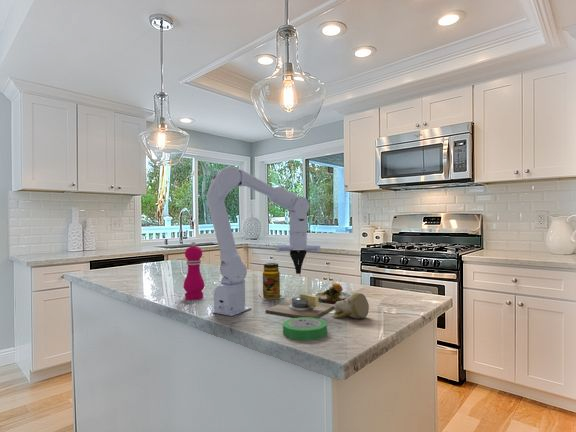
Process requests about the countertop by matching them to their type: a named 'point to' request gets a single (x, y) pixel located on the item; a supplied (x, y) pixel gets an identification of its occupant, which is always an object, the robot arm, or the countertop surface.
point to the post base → (300, 310)
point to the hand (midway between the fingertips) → (298, 273)
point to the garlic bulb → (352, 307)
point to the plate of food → (333, 294)
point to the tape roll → (305, 328)
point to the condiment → (271, 282)
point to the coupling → (305, 301)
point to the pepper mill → (193, 273)
